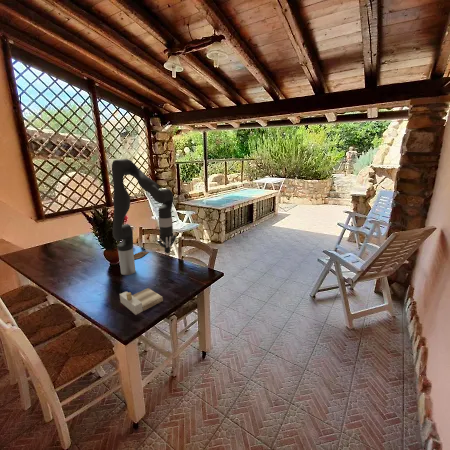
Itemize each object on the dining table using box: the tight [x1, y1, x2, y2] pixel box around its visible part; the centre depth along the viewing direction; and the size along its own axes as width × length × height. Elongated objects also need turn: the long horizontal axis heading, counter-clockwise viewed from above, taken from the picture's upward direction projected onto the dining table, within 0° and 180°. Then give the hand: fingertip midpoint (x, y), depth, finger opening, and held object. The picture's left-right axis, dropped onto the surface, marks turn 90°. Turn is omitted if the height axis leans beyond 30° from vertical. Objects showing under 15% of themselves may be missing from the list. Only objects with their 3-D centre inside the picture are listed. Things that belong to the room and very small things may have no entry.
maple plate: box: [131, 287, 164, 312], centre depth 137 cm, size 14×12×3 cm
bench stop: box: [119, 291, 144, 316], centre depth 131 cm, size 16×4×8 cm, turn 48°
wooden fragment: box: [134, 251, 149, 260], centre depth 193 cm, size 26×11×1 cm, turn 140°
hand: (167, 252), depth 147 cm, fingers closed
